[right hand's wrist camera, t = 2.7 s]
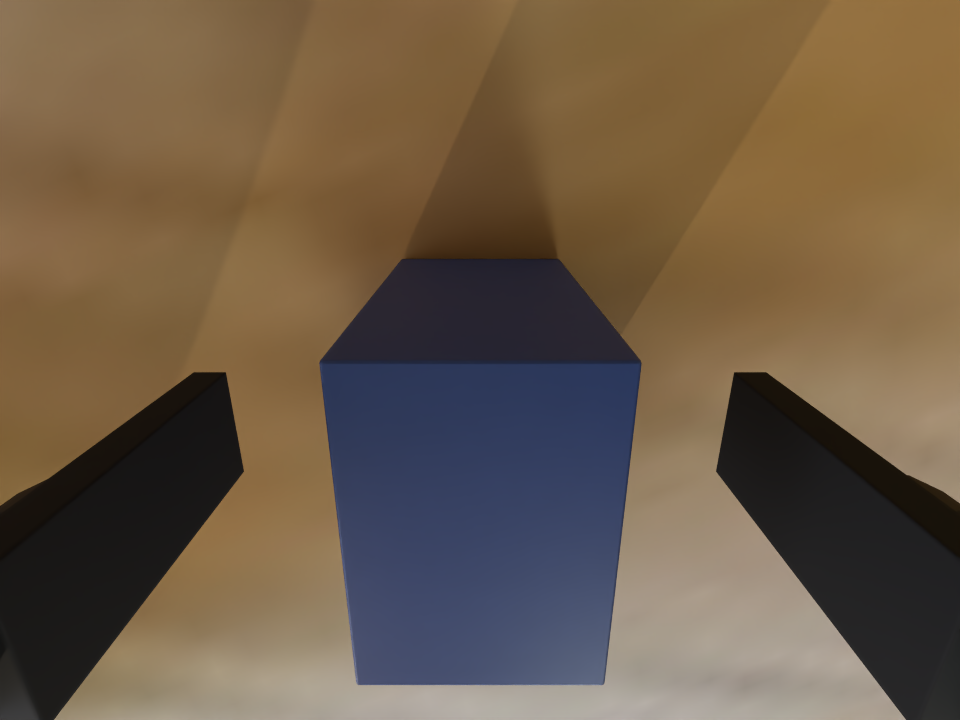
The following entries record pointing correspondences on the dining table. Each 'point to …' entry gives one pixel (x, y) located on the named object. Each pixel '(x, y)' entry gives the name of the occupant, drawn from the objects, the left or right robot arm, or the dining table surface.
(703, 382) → the dining table surface
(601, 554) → the block
